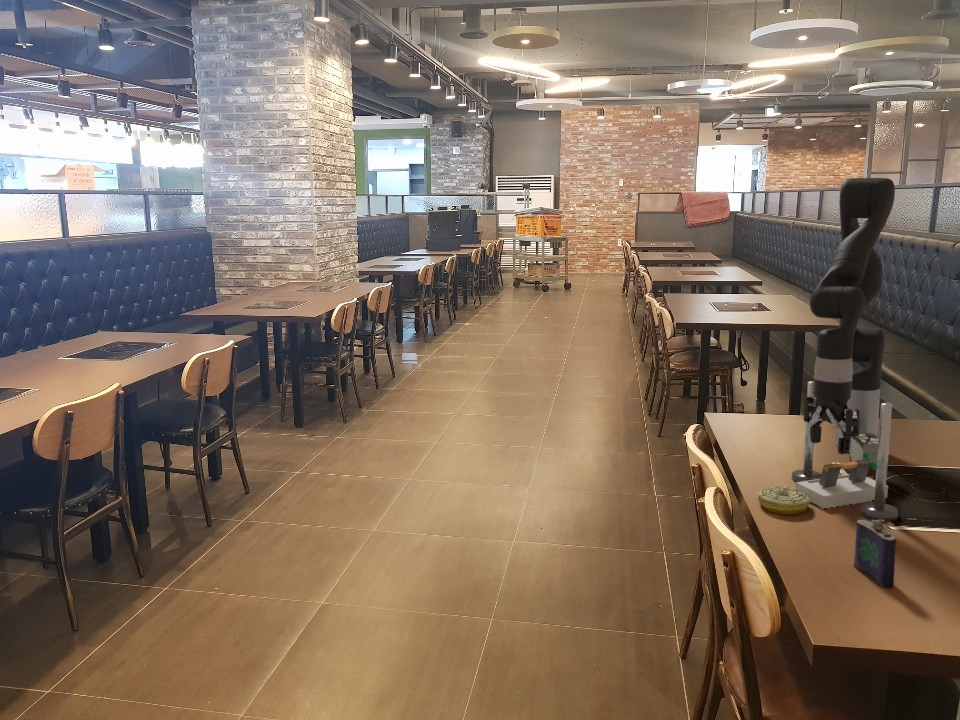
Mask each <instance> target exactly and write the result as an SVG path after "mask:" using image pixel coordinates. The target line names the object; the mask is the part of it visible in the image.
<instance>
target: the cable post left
mask: <svg viewBox="0 0 960 720" xmlns="http://www.w3.org/2000/svg"><path fill="white" fill-rule="evenodd" d="M806 390H807V391H806V393H807V394H806V395H807V396H806V397H810V396H814V395H813V391H814V380H809V381H807V389H806ZM809 416H811V412H810V413H809ZM804 430H805V432H804V450H803V451H804V452H803V456H804V457H803V468H802V469H797V470H794V471H792V472H791V480H793V481H794V483H795V482H802V481H809V480H815V479H820V478H821V474H822V472H819V471H815V470H813V467H814V466H813V465H814V450H815V449H814V447H815V443H812V442H811V439H810V430H811V426H809V423H808V422H805V429H804ZM793 481H792V482H793Z"/></svg>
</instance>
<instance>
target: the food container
mask: <svg viewBox="0 0 960 720" xmlns="http://www.w3.org/2000/svg"><path fill="white" fill-rule="evenodd" d="M851 431H853V430H851ZM878 441H879V434H877V435H876V434H873V433H869V432H863V431H859V436H856V437H851V438H850V452H849V457H848V459H849V461H848V462H854V461H855V460H861V459H867V460H868V461H869V462H871V464H870V467H869V470H868V473H867V476H866V477H868V478H870V479H873V480H875V481H876V468H877V455H878ZM849 469H850V470H851V469H852V468H848V470H849ZM850 470H849V471H850Z"/></svg>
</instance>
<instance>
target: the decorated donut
mask: <svg viewBox="0 0 960 720" xmlns="http://www.w3.org/2000/svg"><path fill="white" fill-rule="evenodd" d="M757 494H758V496H757V500H758V502H759V504H760V506H761V507H762V508H763V509H764V510H765V511H768V512H771V513H773V514H777V515H783V516H794V515H799V514H803V513H804V512H806V511H807V509H808V508H809V505H810V504H811V502H810V499H809V497H808V496H807V495H806V494H805V493H803V492H802V491H799V490H797V489H796V488H794V487H791V486H784V485H780V486H779V485H778V486H769V487H765V488H763V489H761V490H760V491H759V492H758V493H757ZM798 513H799V514H798Z"/></svg>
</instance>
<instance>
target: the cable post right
mask: <svg viewBox="0 0 960 720" xmlns="http://www.w3.org/2000/svg"><path fill="white" fill-rule="evenodd" d="M892 411H893V403H891V402H881V403H880V414H879V415H880V416H879V430H878V435H879V441H878V455H877V468H876V482H875V496H874V501H870V502H864V503H860V506H859V507H860V508H859V510H860V511H859V513H860V515H861V516H862V517H864V518H866V519H868V520H871V521H872V520H879V521H880V519H881V520H884V522H885V523H887V522H894V521H896V520H897V519H898V516H899V515H898V512H899V510H898V508H897V507H895V506H893V505H891V504H887V503H886V499H885V494H886V485H887V480H888V479H887V477H888V466H889V464H888V463H889V450H890V437H891V424H892V423H891V422H892ZM881 522H882V523H884V522H883V521H881Z"/></svg>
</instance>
